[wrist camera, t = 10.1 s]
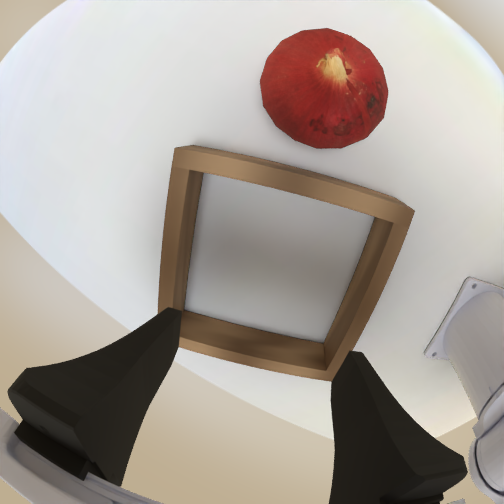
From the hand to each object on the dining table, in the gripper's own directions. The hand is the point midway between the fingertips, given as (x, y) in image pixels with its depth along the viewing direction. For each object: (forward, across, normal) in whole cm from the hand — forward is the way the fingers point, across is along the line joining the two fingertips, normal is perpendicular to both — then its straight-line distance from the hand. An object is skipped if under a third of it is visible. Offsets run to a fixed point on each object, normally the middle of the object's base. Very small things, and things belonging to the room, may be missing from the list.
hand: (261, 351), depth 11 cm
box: (+8, 0, 0) cm, 8 cm away
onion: (+8, 0, -11) cm, 14 cm away
